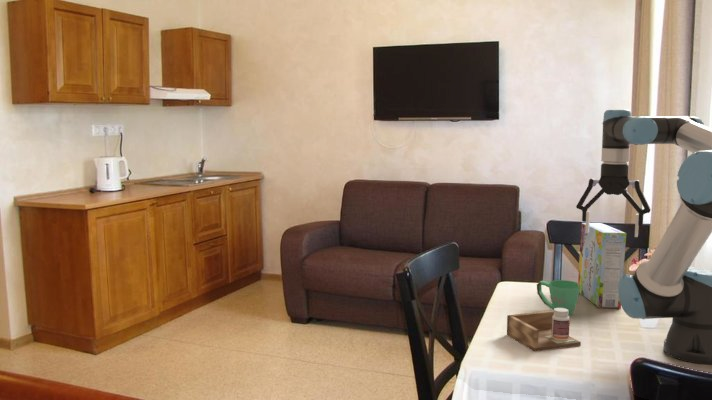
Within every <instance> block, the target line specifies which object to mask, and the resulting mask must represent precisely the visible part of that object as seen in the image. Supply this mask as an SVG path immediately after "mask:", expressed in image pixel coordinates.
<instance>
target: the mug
mask: <svg viewBox="0 0 712 400" xmlns="http://www.w3.org/2000/svg"><path fill="white" fill-rule="evenodd" d="M542 286H545V287H547V288H548V290H549V295H550V300H551V302H550V301H548V299H547V297H546V296H545V294H544V292H543V290H542ZM580 288H581V285H580V284H579V286H578V282H577V281H571V280H565V279H564V280H563V279H562V280H561V279H559V280H558V279H557V280H551V281H546V280H540V281H539V282H537V284H536V291H537V292H536V293H537V296H538V297H539V298H540V299H541V301H542V302H543V304H544V305H545V306H547V307H549V308H550V309H551V310H552V311H554V308H565V309H568V310H569V314H568V316H569V317H571V316H572V314H573V312H574V310H575V308H576V305H577V302H578V298H579V295H580V293H579V292H580Z"/></svg>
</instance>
